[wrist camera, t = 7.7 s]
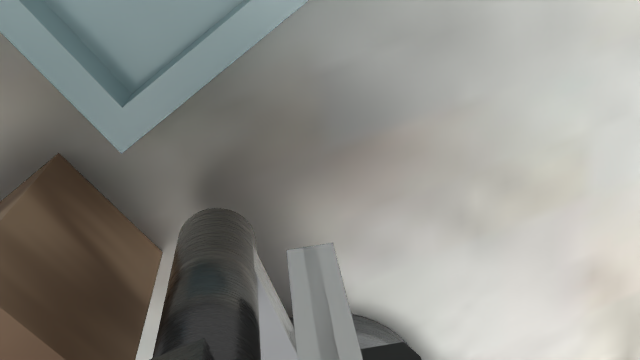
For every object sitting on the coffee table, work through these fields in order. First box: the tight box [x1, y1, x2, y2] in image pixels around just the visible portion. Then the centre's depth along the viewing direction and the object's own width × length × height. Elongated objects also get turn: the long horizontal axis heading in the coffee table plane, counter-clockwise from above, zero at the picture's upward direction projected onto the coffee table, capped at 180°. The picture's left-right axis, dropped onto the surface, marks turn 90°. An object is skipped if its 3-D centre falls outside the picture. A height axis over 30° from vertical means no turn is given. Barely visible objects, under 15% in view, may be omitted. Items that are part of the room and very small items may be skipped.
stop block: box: [0, 153, 163, 360], centre depth 18 cm, size 5×7×8 cm
